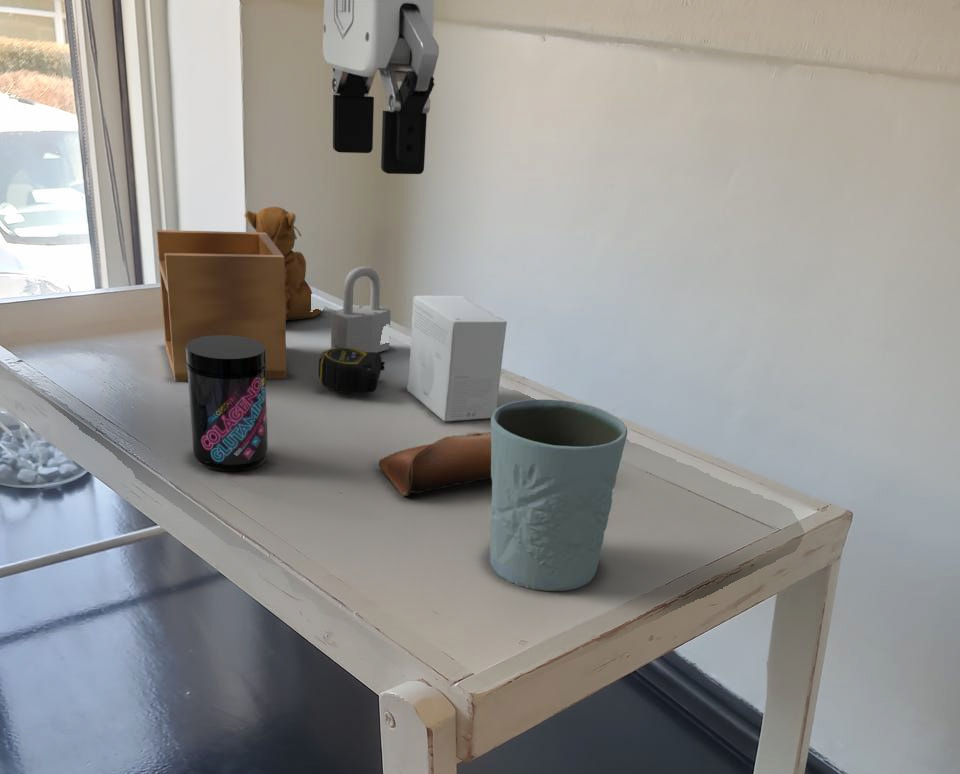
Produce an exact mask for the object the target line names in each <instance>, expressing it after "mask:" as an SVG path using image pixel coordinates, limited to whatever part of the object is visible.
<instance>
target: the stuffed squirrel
mask: <svg viewBox="0 0 960 774" xmlns="http://www.w3.org/2000/svg"><path fill="white" fill-rule="evenodd" d="M243 216H244V218H245V219H246V220H247V222H248V223H249V224H250V226H251V227H252V228H253V229H254V230H255V232H262V233H266V234H267V235H268V236H269V238H270V239H271V240H272V241H273V243H274V244H275V245H276V247H277V248H278V249H279V251H280V252H281V253H282V255H283V256H284V258H285V322H287V321H294V320H296V321H297V320H303V319H304V320H305V319H311V318H314V317H317V316H318V315H320V314H321V313H322V312H323V311H321V310H319V309H315V310H313V312H310V311H311V294H313V292H312V289H311V287H310V285H309V283H308V282H307V281H306V273H307V261H306V258H305V256H304V254H303V253H302V252H301V251H294V250H293V248H294V247H295V242H296V240H297V239H298V238H297V235H296V232H295V230H296V231H297V233H298V235H299V237H302V234H301V233H300V231H299V229H298V228H297V227H296V226H295V223H296V221H297V215H296V214H295V213H294V212H289V211H287V210H286V209H284V208H283V207H279V206H268V207H265V208H262V209H260V210H258V212H257V213H256V212H253V211H251V210H246V211H245V213H244V215H243Z"/></svg>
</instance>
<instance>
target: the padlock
mask: <svg viewBox="0 0 960 774" xmlns="http://www.w3.org/2000/svg"><path fill="white" fill-rule="evenodd" d="M362 277H368V279H369V282H370V301H369V304H368V305H357V306H354V288H355V284H356V281H357V280H358V279H359V278H362ZM380 301H381V279H380V275H379V274H378V272H377V270H376V269H374V268H373V267H371V266H358V267H356V268H354V269H352V270H350V271H349V272H348V273H347V275H346V277H345V280H344V284H343V299H342V307H343V308H342V309H338V310H336V309H335V310H333V311H331V313H330V314H331V317H330V327H331V328H330V334H331V335H330V346H331V347H330V349H336V348H351V349H357V350H360V351H364V352H376V353H378V354H379V353H381V352H383V351H387V350H389V349H390V342H389V343H385V344H382V345H380V341H381V335H382V330H383V327H384V326H386V324H389V325H390V326H391V319H392V317H391V316H392V313H391V312H392V311H391V309H390V308H386V307H383V306H381V305H380Z"/></svg>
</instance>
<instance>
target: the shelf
mask: <svg viewBox="0 0 960 774" xmlns="http://www.w3.org/2000/svg"><path fill="white" fill-rule="evenodd" d="M155 233H156V244H157V258H158V269H159V270H158V271H159V283H160V294H161V295H160V296H161V307H162V308H161V309H162V320H163V334H164V347H165V351H166V354H167V357H168V361H169V365H170V367H171V368H170V369H171V372H172V375H173V379H174V382H184V381H185V382H188V368H187V364H186V362H187V359H186V344H187V343H188V342H189V341H191V340H193V339H196V338H199V337H205V336H214V335H230V336H240V337H246V338H250V339H254V340H257V341H259V342H261V343H262V344H264V345H265V348H266V380H269V379H270V380H271V379H272V380H273V379H274V380H275V379H276V380H277V379H287V339H286V337H287V331H286V329H287V328H286V326H287V325H286V324H287V323H286V321H285V258H284V256H283V255H282V253H281V252H280V251H279V249H278V248H277V247H276V245H275V244H274V243H273V241H272V240H271V239H270V238H269V236H268V235H267V234H266V233H262V232H256V231H218V230H217V231H214V230H176V229H174V230H172V229H171V230H170V229H156V232H155Z"/></svg>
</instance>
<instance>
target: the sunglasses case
mask: <svg viewBox="0 0 960 774" xmlns="http://www.w3.org/2000/svg"><path fill="white" fill-rule="evenodd" d="M378 467H379V469H380V470H381V471H382V473H383V474H384V476H385V477H386V479H387V480H388V482H389V483H390V484H391V485H392V486H393V487H394V488H395V490H396V491H397V492H398V493H399V494H400V495H401V496H402V497H407V496H409V495H411V494H412V492H413V493H417V494H418V493H424V492H426V491H435V490H439V489H442V488H448V487H452V486H453V487H454V486H455V485H458V484H459V485H460V484H467V483H472V482H475V481H479V480H484V481H485V480H492V478H491V431H486V432H485V431H484V432H477V431H476V432H468V433H467V434H464V435H462V434H461V435H449V436H444V437H442V438H440V439H438V440H437V441H434V442H432V443H429V444H422V445H419V446H418V445H417V446H414V447H410V448H406V449H402V450H399V451H395V452H394V453H390V454H388V455H387V456H384V457H382V458H380V459H379V462H378Z"/></svg>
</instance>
